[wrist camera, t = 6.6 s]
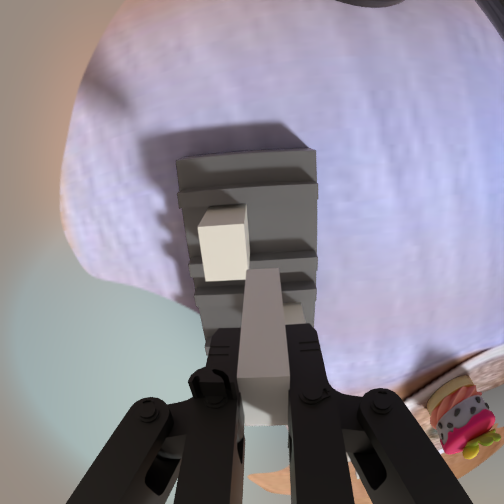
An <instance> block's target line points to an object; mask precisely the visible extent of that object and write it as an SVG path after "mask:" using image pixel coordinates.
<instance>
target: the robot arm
mask: <svg viewBox="0 0 504 504" xmlns="http://www.w3.org/2000/svg"><path fill="white" fill-rule="evenodd" d="M337 1H340V2H343V3H347V4H351V5H355V6H361V7H371V8H379V7H388V6H392V5H396V4H398V3H400V2H402V1H404V0H337ZM475 1H476V3H477V4H478V5H479V6H480V8H481V9H482V10H483V12H484V13H485V14H486V16H487V17H488V19H489V20H490V21H491V23H492V24H493V26H494V27H495V29H496V30H497V32H498V33H499V35H500V36H501V38H502V39H503V41H504V0H475ZM188 383H189V386H190V389H191V392H192V395H193V397H192V398H190V399H188V400H186V401H183V402H178V403H174V404H168V405H167V404H166V403H165V402H164V401H163V400H161V399H159V398H153V397H148V398H143V399H141V400H139V401H137V402H135V403H134V404H133V405H132V406H131V408H130V409H129V411H128V412H127V413H126V415H125V416H124V418H123V419H122V421H121V422H120V424H119V425H118V427H117V428H116V430H115V431H114V432H113V434H112V435H111V437H110V439H109V440H108V441H107V443H106V444H105V446H104V447H103V449H102V450H101V452H100V453H99V455H98V456H97V458H96V459H95V461H94V462H93V464H92V465H91V467H90V468H89V470H88V471H87V472H86V474H85V475H84V477H83V478H82V480H81V481H80V483H79V485H78V486H77V487H76V489H75V491H74V492H73V494H72V495H71V497H70V498H69V500H68V501H67V503H66V504H165V502H166V500H167V498H168V496H169V494H170V492H171V490H172V488H173V486H174V484H175V482H176V480H177V478H178V482H177V487H176V493H175V499H174V504H242V497H243V476H244V455H245V437H244V423H245V426H273V425H288V429H289V434H288V435H289V436H288V448H289V460H290V461H289V462H290V483H291V504H355V503H354V497H353V490H352V484H351V478H350V472H349V466H348V460H347V455H346V452H347V454H348V456H349V458H350V460H351V462H352V464H353V466H354V468H355V470H356V472H357V473H358V475H359V477H360V479H361V481H362V483H363V485H364V487H365V489H366V491H367V493H368V495H369V497H370V499H371V501H372V503H373V504H473V503H472V501H471V500H470V498H469V496H468V495H467V493H466V492H465V490H464V489H463V487H462V486H461V484H460V483H459V481H458V480H457V478H456V477H455V475H454V474H453V472H452V471H451V469H450V468H449V466H448V465H447V463H446V462H445V461H444V459H443V458H442V456H441V455H440V453H439V452H438V450H437V449H436V447H435V446H434V445H433V443H432V442H431V440H430V439H429V437H428V436H427V435H426V433H425V432H424V430H423V429H422V427H421V426H420V425H419V423H418V422H417V420H416V419H415V418H414V416H413V415H412V413H411V412H410V411H409V409H408V408H407V406H406V405H405V404H404V402H403V401H402V400H401V398H400V397H399V396H398V395H397V394H396V393H395V392H393V391H391V390H389V389H383V388H377V389H372V390H370V391H368V392H367V393H365V394H364V396H363V397H359V396H351V395H346V394H342V393H340V392H338V391H336V390H335V389H333V388H332V387H331V385H330V384H329V382H328V380H327V376H326V371H325V366H324V362H323V357H322V353H321V348H320V344H319V340H318V335H317V331H316V330H315V329H314V328H313V327H312V326H311V324H310V323H304V324H289V325H285V319H284V310H283V301H282V292H281V283H280V274H279V268H266V269H247V270H246V280H245V291H244V302H243V313H242V324H241V328H218V330H217V331H216V332H215V333H214V335H213V336H212V338H211V343H210V348H209V353H208V358H207V363H206V367H203V368H201V369H198V370H197V371H195V372H194V373H193V374H192V375H191V377H190V378H189V380H188Z"/></svg>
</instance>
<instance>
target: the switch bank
mask: <svg viewBox="0 0 504 504" xmlns="http://www.w3.org/2000/svg"><path fill="white" fill-rule="evenodd" d="M176 167H177V175H178V183H179V192H178V193H177V196H178V204H179V209H180V208H182V212H183V219H184V226H185V232H186V239H187V245H188V251H189V257H190V262H189V264H188V266H189V272H190V277H191V278H192V277H193V280H194V285H195V294H194V298H195V303H196V307H199V311H200V316H201V321H202V326H203V331H204V335H205V340H206V343H205V350H206V355H208V353H209V348H210V343H211V338H212V336H213V335H214V333H215V332H216V331H217V330H218V328H241V324H242V313H243V302H244V291H245V280H226V281H206V280H205V274H204V268H203V261H202V254H201V248H200V241H199V234H198V225H199V224H200V222H201V220H202V218H203V216H204V215H205V213H206V211H207V209H208V208H209V207H212V206H225V205H239V204H246V206H247V218H248V231H249V244H250V262H249V269H266V268H279V274H280V283H281V292H282V301H283V303H292V302H301V305H302V310H303V314H304V319H305V323H310V324H311V326H312V327H313V328H314V313H315V301H316V294H317V288H316V270H317V267H318V257H317V199H318V183H317V171H316V150H313V149H311V148H290V149H267V150H251V151H238V152H226V153H215V154H205V155H196V156H188V157H183V158H181V159H178V160H176Z"/></svg>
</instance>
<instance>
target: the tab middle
mask: <svg viewBox="0 0 504 504" xmlns="http://www.w3.org/2000/svg"><path fill="white" fill-rule="evenodd" d="M283 310H284V319H285V325H289V324H304V323H305V319H304V314H303V310H302V305H301V302H292V303H283Z"/></svg>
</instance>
